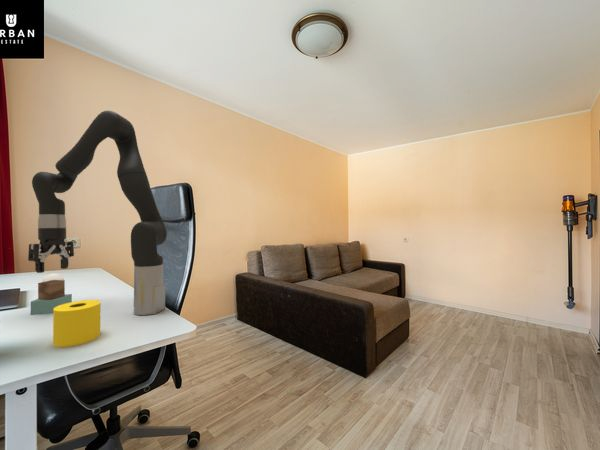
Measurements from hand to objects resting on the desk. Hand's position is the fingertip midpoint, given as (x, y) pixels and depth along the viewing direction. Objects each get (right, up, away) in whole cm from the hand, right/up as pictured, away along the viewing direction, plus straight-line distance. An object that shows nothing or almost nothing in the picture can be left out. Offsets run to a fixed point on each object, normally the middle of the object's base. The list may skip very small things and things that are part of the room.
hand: (52, 270), depth 95 cm
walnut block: (0, -10, 0) cm, 10 cm away
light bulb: (-13, -15, +14) cm, 24 cm away
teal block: (0, -15, 0) cm, 15 cm away
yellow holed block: (+29, -15, -23) cm, 40 cm away
